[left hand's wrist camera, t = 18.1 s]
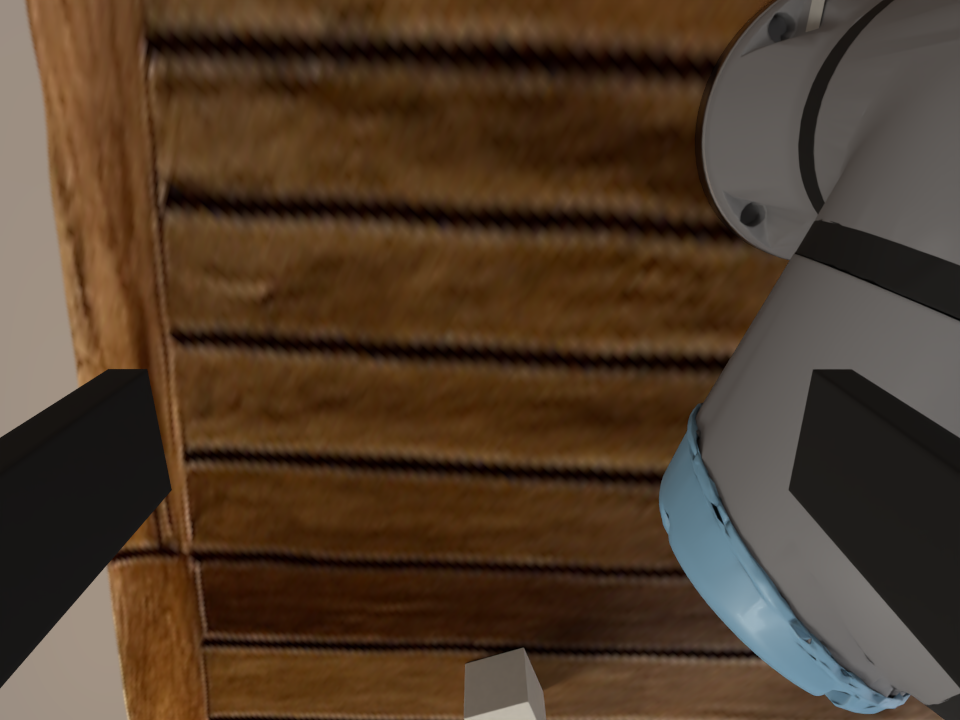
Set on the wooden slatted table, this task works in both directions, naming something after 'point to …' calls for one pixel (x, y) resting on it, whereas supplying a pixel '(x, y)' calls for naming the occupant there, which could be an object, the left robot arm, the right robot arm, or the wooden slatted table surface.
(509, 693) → the white cube
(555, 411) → the wooden slatted table surface
